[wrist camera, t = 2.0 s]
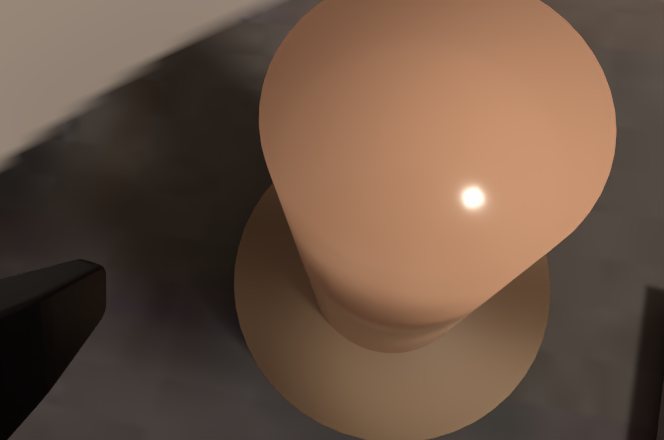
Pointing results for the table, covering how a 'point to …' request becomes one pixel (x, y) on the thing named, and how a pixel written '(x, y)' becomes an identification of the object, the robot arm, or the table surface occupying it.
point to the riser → (377, 367)
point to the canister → (430, 154)
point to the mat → (661, 418)
